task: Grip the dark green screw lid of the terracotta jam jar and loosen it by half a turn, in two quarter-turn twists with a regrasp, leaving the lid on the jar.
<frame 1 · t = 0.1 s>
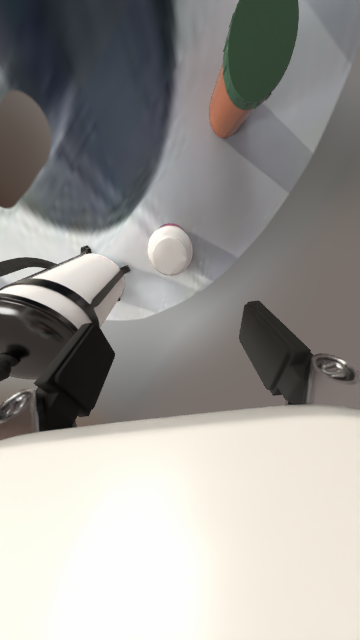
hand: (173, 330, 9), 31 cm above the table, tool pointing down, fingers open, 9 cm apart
lid: (259, 47, 15), point 10 cm above the table, screwed on, not yet turned
pill bottle: (170, 243, 34), on the table
coffee press: (98, 274, 38), on the table
jar: (227, 109, 23), on the table
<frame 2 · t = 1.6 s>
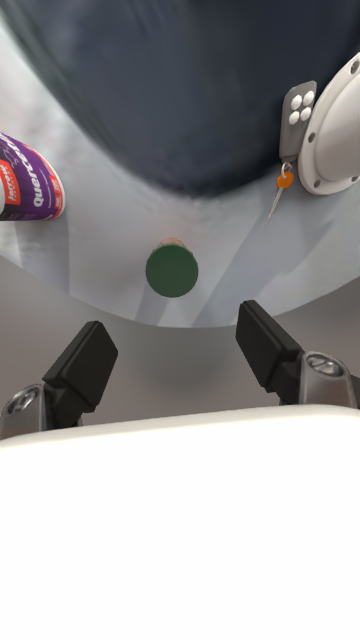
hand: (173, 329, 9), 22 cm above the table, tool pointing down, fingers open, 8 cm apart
lid: (172, 273, 19), point 10 cm above the table, screwed on, not yet turned
key chain: (284, 165, 21), on the table
pill bottle: (39, 186, 21), on the table
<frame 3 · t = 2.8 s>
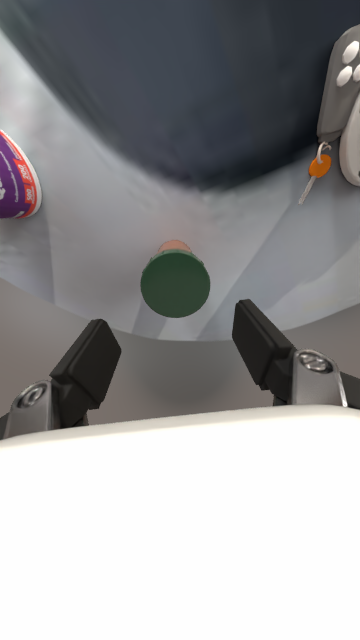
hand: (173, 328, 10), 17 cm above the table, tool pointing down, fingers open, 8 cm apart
lid: (175, 288, 14), point 10 cm above the table, screwed on, not yet turned
key chain: (320, 147, 17), on the table
pill bottle: (7, 175, 17), on the table
jar: (174, 261, 23), on the table
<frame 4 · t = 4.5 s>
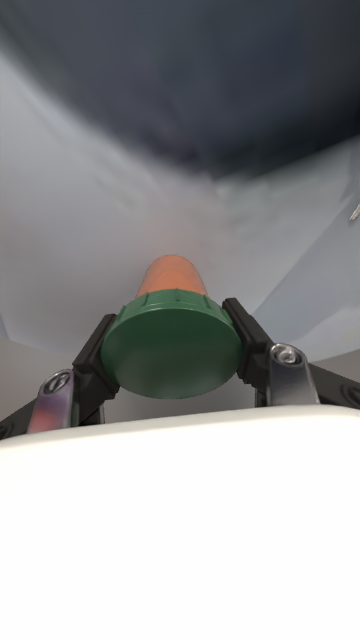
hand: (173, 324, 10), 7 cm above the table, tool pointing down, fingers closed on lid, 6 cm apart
lid: (173, 360, 7), point 10 cm above the table, screwed on, not yet turned, touching gripper
jar: (172, 283, 16), on the table
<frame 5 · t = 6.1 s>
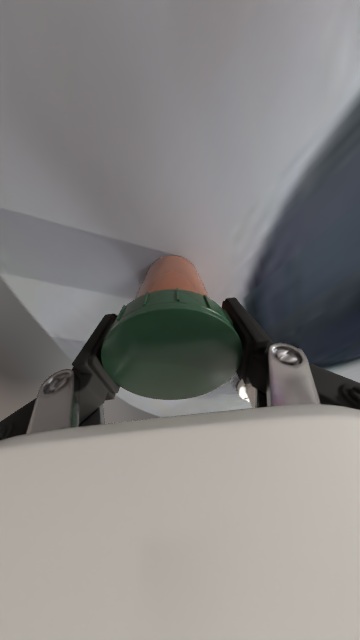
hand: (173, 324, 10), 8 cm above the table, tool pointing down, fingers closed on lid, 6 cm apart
lid: (173, 360, 7), point 11 cm above the table, turned 81° so far, risen 0.1 cm, still on its thread, touching gripper
jar: (172, 283, 16), on the table
when the fingers open (7 cm above the table, at t = 7.7 s): lid stays where it is, point 11 cm above the table.
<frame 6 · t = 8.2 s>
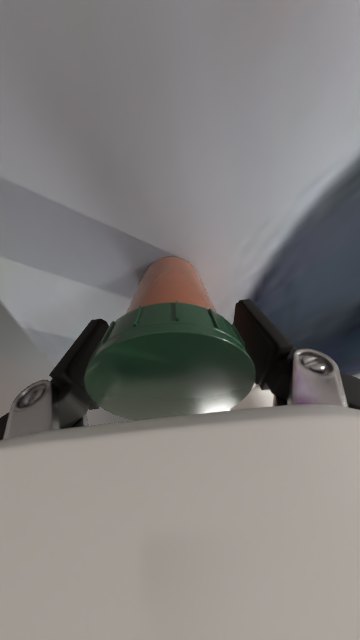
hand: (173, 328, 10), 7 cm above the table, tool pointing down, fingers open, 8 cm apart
lid: (172, 384, 6), point 11 cm above the table, turned 90° so far, risen 0.1 cm, still on its thread
jar: (171, 287, 15), on the table
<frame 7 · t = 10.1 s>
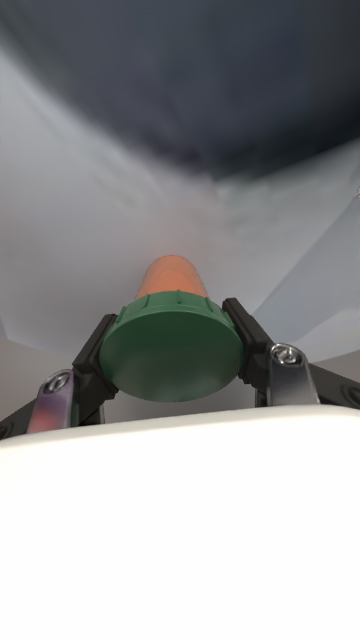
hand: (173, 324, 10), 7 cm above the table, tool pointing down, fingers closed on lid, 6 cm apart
lid: (173, 363, 7), point 11 cm above the table, turned 90° so far, risen 0.1 cm, still on its thread, touching gripper
jar: (172, 283, 16), on the table
when the fingers open (7 cm above the table, at t = 13.3 s): lid stays where it is, point 11 cm above the table.
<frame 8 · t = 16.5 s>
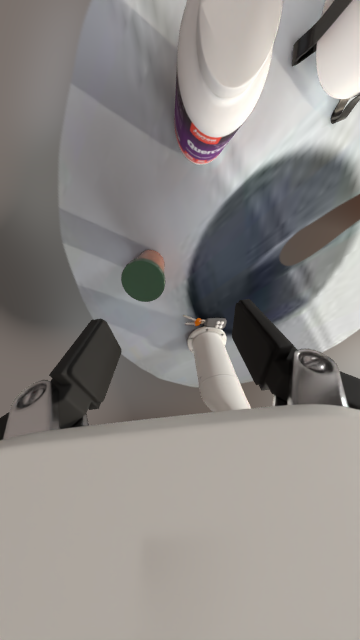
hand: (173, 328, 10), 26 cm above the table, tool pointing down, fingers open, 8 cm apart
lid: (143, 282, 23), point 11 cm above the table, turned 179° so far, risen 0.2 cm, still on its thread
key chain: (203, 320, 43), on the table, touching arm
pill bottle: (201, 127, 21), on the table
jar: (151, 264, 32), on the table
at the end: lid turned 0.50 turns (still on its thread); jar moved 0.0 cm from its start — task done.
